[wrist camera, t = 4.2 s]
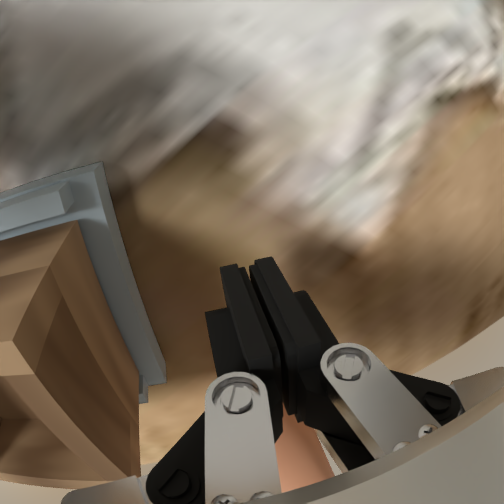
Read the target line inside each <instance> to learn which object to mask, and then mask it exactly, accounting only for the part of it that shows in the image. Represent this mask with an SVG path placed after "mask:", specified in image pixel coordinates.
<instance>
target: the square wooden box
mask: <svg viewBox="0 0 504 504" xmlns="http://www.w3.org/2000/svg"><path fill="white" fill-rule="evenodd" d="M134 475H136V476H137V477H141V468H140V446H139V371H138V369H137V367H136V365H135V363H134V361H133V359H132V357H131V355H130V353H129V351H128V348H127V346H126V344H125V342H124V340H123V338H122V336H121V333H120V331H119V329H118V327H117V325H116V322H115V320H114V318H113V315H112V313H111V311H110V308H109V306H108V304H107V301H106V299H105V296H104V294H103V291H102V289H101V286H100V284H99V281H98V279H97V276H96V273H95V271H94V268H93V265H92V262H91V260H90V257H89V254H88V251H87V248H86V245H85V242H84V239H83V236H82V233H81V230H80V227H79V224H78V221H77V220H73V221H69V222H66V223H62V224H58V225H54V226H50V227H47V228H43V229H39V230H36V231H32V232H28V233H25V234H21V235H18V236H14V237H11V238H8V239H4V240H1V241H0V480H3V481H8V482H14V483H20V484H27V485H35V486H43V487H53V488H65V489H82V488H87V487H91V486H96V485H100V484H104V483H108V482H112V481H116V480H120V479H124V478H127V477H131V476H134Z"/></svg>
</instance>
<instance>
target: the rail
mask: <svg viewBox="0 0 504 504" xmlns="http://www.w3.org/2000/svg"><path fill="white" fill-rule="evenodd" d="M73 220H77V221H78V224H79V227H80V230H81V233H82V236H83V239H84V242H85V245H86V248H87V251H88V254H89V257H90V260H91V262H92V265H93V268H94V271H95V273H96V276H97V279H98V281H99V284H100V286H101V289H102V291H103V294H104V296H105V299H106V301H107V304H108V306H109V308H110V311H111V313H112V315H113V318H114V320H115V322H116V325H117V327H118V329H119V331H120V333H121V336H122V338H123V340H124V342H125V344H126V346H127V348H128V351H129V353H130V355H131V357H132V359H133V361H134V363H135V365H136V367H137V369H138V371H139V404H142V403H148V386H150V385H157V384H163V383H167V379H166V362H165V360H164V357H163V355H162V352H161V350H160V347H159V345H158V342H157V340H156V337H155V335H154V332H153V329H152V327H151V324H150V321H149V319H148V316H147V313H146V310H145V308H144V305H143V302H142V299H141V296H140V293H139V291H138V288H137V285H136V282H135V279H134V276H133V272H132V269H131V266H130V263H129V260H128V257H127V253H126V250H125V247H124V243H123V240H122V237H121V233H120V230H119V226H118V223H117V219H116V215H115V211H114V208H113V204H112V200H111V196H110V192H109V188H108V184H107V180H106V175H105V171H104V167H103V162H98V163H94V164H91V165H87V166H83V167H80V168H76V169H73V170H69V171H66V172H62V173H59V174H56V175H52V176H49V177H46V178H43V179H40V180H36V181H33V182H30V183H27V184H24V185H22V186H19V187H16V188H13V189H10V190H7V191H5V192H2V193H0V241H1V240H4V239H8V238H11V237H14V236H18V235H21V234H25V233H28V232H32V231H36V230H39V229H43V228H47V227H50V226H54V225H58V224H62V223H66V222H69V221H73Z"/></svg>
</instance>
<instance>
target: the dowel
mask: <svg viewBox="0 0 504 504" xmlns="http://www.w3.org/2000/svg"><path fill="white" fill-rule="evenodd" d="M282 420H283V432H282V434H281V435H280V437H279V438H278V440H277V441H276V443H275V450H276V457H277V464H278V471H279V477H280V484H281V491H282V493H284V492H287V491H291V490H294V489H298V488H301V487H304V486H308V485H311V484H314V483H317V482H320V481H323V480H326V479H329V478H332V477H334V476H335V475H334V473H333V471H332V469H331V466H330V464H329V462H328V459H327V457H326V455H325V453H324V450H323V448H322V446H321V443H320V441H319V439H318V436H317V434H316V432H315V430H314V428H311V427H309V426H306V425H305V424H304V422H300V423H298V422H297V420H296V418H295V415H294V414H293V415H290V416H289V415H288V414H287V412H286V409H285V407H284V404H283V417H282Z"/></svg>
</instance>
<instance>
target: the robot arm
mask: <svg viewBox="0 0 504 504" xmlns="http://www.w3.org/2000/svg"><path fill="white" fill-rule="evenodd" d="M254 264H255V265H250V266H249V272H250V279H249V277H248V274H247V272H246V269H245V267H241V268H238V265H237V264H233V265H228V266H223V267H220V272H221V278H222V283H223V289H224V294H225V300H226V305H227V308H223V309H218V310H213V311H208V312H205V316H206V322H207V327H208V332H209V338H210V343H211V348H212V353H213V358H214V363H215V368H216V372H217V377H218V378H217V379H216V380H214V381H213V382H212V383H211V384H210V386H209V387H208V389H207V391H206V396H205V411H204V413H203V414H202V415H201V416H200V417H199V418H198V419H197V421H196V422H195V423H194V424H193V425H192V426H191V427H190V429H189V430H188V431H187V432H186V433H185V434H184V435H183V436H182V437H181V439H180V440H179V441H178V442H177V443H176V444H175V445H174V446H173V447H172V448H171V450H170V451H169V452H168V453H167V454H166V455H165V456H164V457H163V458H162V459H161V460H160V461H159V462H158V464H157V465H156V466H155V467H154V468H153V469H152V470H151V472H150V473H149V474H148V475H145V476H142V477H137V476H136V475H134V476H131V477H127V478H124V479H120V480H116V481H112V482H108V483H104V484H100V485H96V486H91V487H87V488H82V489H77V490H74V491H71V492H69V493H68V494H67V495H65V497H64V498H63V499H62V502H61V504H504V367H497V368H494V369H491V370H488V371H485V372H481V373H478V374H475V375H472V376H468V377H465V378H462V379H458V380H455V381H452V382H451V384H450V385H445V384H443V383H440V382H436V381H431V380H427V379H423V378H419V377H415V376H411V375H407V374H403V373H399V372H396V371H392V370H389V369H388V368H387V367H386V366H385V365H384V364H383V363H382V362H381V361H380V360H379V359H378V358H377V357H376V356H375V355H374V354H373V353H372V352H371V351H370V350H369V349H367V348H366V347H364V346H362V345H359V344H354V343H341V344H339V343H338V341H337V339H336V338H335V336H334V335H333V333H332V331H331V330H330V328H329V327H328V325H327V323H326V322H325V320H324V319H323V317H322V315H321V314H320V312H319V311H318V309H317V308H316V306H315V304H314V303H313V301H312V300H311V298H310V296H309V295H308V293H307V292H306V291H304V290H303V291H298V292H294V293H293V292H292V290H291V288H290V286H289V285H288V283H287V281H286V279H285V278H284V276H283V274H282V273H281V271H280V269H279V267H278V266H277V264H276V262H275V261H274V259H273V257H267V258H262V259H257V260H255V262H254ZM250 280H251V281H250ZM283 404H284V407H285V409H286V412H287V414H288V415H289V416H290V415H293V414H294V415H295V418H296V420H297V422H298V423H300V422H304V424H305V425H306V426H309V427H311V428H314V429H315V432H316V434H317V436H318V437H319V439H320V440H321V442H322V443H323V445H324V446H325V448H326V450H327V451H328V452H329V453H330V455H331V457H332V458H333V460H334V461H335V463H336V464H337V466H338V467H339V469H340V470H341V472H342V473H343V474H340V475H338V476H334V477H332V478H329V479H326V480H323V481H320V482H317V483H314V484H311V485H308V486H304V487H301V488H298V489H294V490H291V491H287V492H284V493H282V491H281V484H280V477H279V471H278V464H277V457H276V450H275V443H276V441H277V440H278V438H279V437H280V435H281V434H282V432H283V420H282V417H283Z"/></svg>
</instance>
